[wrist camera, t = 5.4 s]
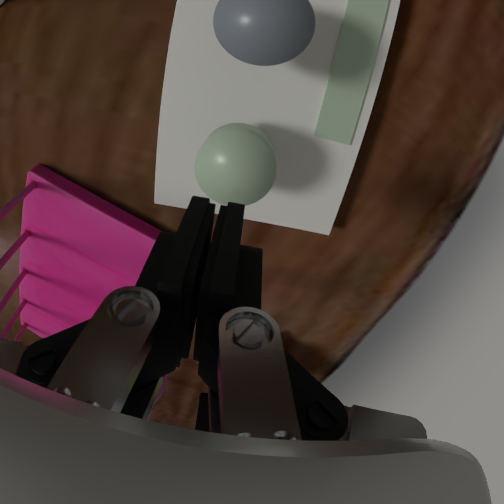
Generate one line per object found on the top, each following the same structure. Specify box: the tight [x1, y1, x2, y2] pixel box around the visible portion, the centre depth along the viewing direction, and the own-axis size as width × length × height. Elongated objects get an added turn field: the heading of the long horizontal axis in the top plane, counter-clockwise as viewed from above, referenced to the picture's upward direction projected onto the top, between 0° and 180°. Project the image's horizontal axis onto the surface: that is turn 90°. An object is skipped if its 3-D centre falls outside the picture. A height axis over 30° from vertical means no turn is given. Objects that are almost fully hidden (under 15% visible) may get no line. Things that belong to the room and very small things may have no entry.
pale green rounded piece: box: [194, 123, 276, 206], centre depth 18 cm, size 4×4×4 cm
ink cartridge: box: [195, 393, 210, 432], centre depth 39 cm, size 5×2×8 cm, turn 171°
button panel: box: [154, 0, 400, 235], centre depth 15 cm, size 26×13×2 cm, turn 169°
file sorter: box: [0, 164, 169, 403], centre depth 24 cm, size 17×25×16 cm
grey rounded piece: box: [213, 0, 315, 66], centre depth 12 cm, size 4×4×4 cm
